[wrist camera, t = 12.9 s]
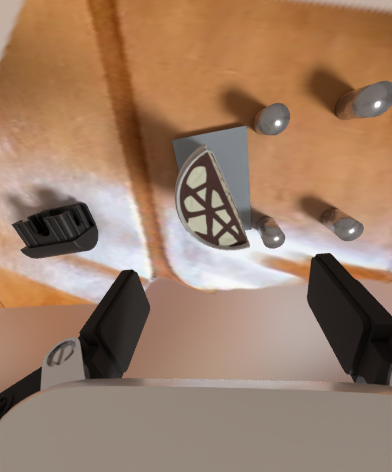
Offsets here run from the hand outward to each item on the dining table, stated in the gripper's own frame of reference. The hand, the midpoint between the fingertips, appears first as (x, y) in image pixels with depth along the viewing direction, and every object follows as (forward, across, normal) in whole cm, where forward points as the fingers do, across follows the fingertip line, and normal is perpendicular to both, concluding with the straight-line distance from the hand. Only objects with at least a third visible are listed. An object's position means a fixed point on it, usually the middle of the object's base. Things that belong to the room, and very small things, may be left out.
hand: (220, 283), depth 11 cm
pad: (+22, 0, 0) cm, 22 cm away
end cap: (+22, +27, +3) cm, 35 cm away
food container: (+21, +2, 0) cm, 21 cm away
